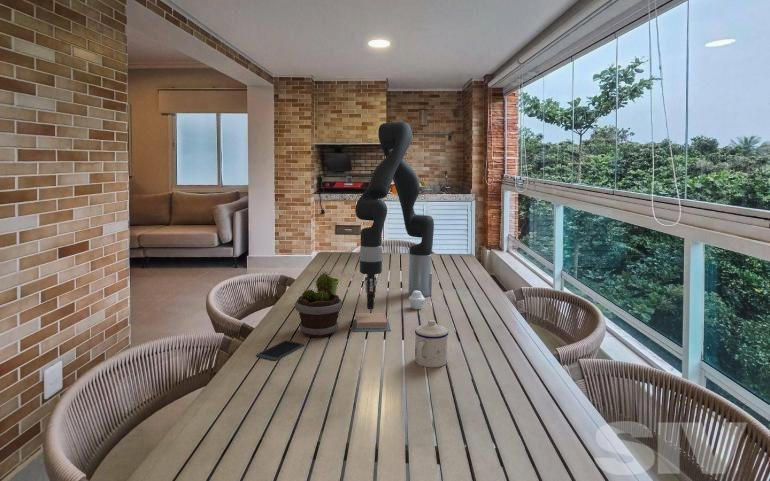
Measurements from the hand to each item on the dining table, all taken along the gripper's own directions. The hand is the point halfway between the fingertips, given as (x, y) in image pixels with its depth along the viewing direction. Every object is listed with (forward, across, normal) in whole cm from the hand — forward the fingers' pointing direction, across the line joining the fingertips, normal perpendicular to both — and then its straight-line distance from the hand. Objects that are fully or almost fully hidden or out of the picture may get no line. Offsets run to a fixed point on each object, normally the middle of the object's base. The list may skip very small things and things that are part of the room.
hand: (370, 308), depth 166 cm
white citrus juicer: (+5, +16, -18) cm, 24 cm away
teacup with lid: (+5, -36, -14) cm, 39 cm away
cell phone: (+5, -25, +27) cm, 37 cm away
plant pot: (+5, +26, +16) cm, 31 cm away
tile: (+3, +3, 0) cm, 4 cm away
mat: (+5, -4, 0) cm, 6 cm away
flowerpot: (+5, -10, +17) cm, 20 cm away
